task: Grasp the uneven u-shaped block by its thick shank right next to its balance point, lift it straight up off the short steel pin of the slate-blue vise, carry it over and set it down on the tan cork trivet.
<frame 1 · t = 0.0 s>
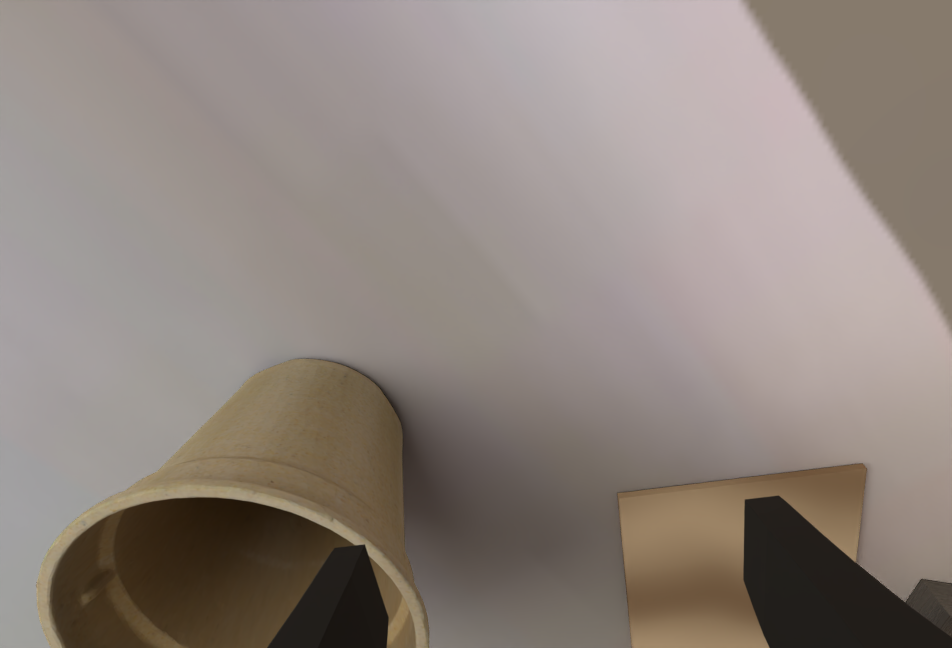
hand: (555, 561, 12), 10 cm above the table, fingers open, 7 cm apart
trivet: (736, 600, 27), on the table
flower pot: (320, 428, 23), on the table
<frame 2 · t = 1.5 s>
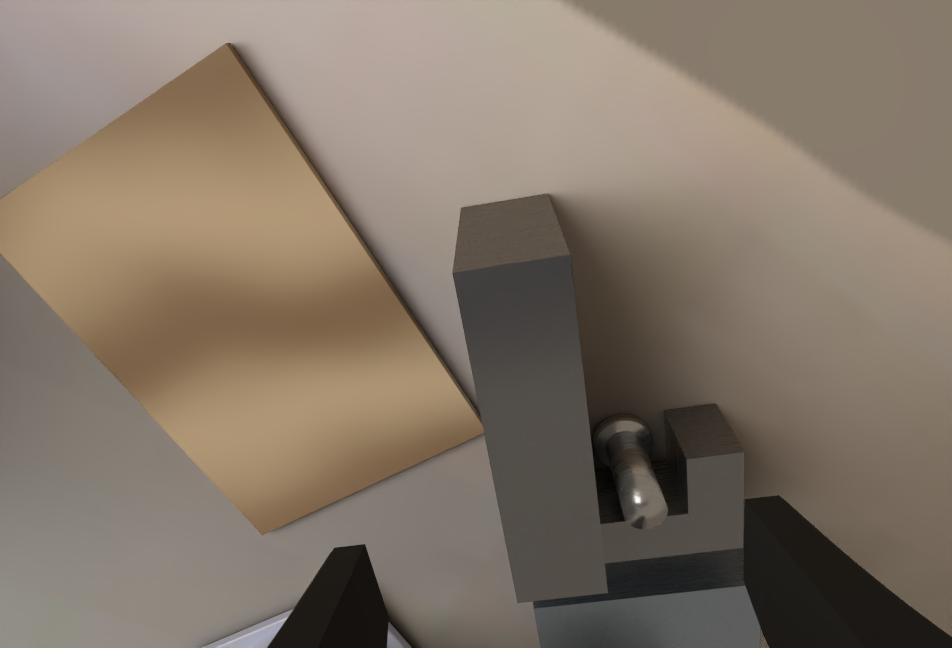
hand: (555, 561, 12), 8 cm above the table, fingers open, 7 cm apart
uneven u-shaped block: (528, 359, 19), on the table
trivet: (250, 329, 19), on the table
vise: (621, 437, 21), on the table
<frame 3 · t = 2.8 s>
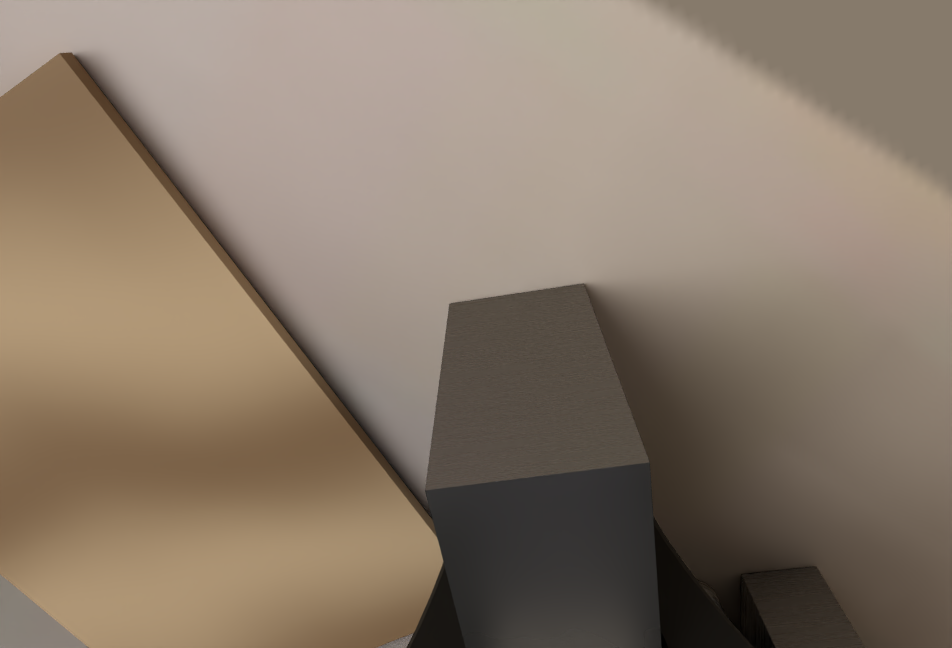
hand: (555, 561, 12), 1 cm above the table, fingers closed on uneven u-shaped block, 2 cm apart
uneven u-shaped block: (549, 509, 13), on the table, touching gripper
trivet: (143, 468, 13), on the table
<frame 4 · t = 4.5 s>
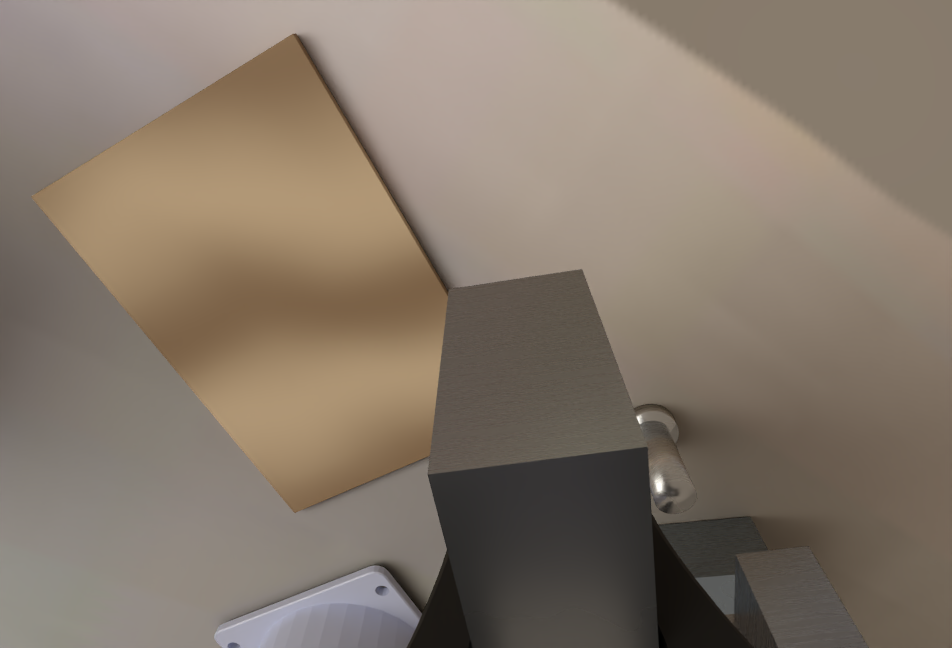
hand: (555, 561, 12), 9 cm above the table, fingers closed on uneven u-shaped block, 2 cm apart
uneven u-shaped block: (547, 491, 14), point 7 cm above the table, touching gripper
trivet: (296, 311, 20), on the table
vise: (647, 426, 21), on the table
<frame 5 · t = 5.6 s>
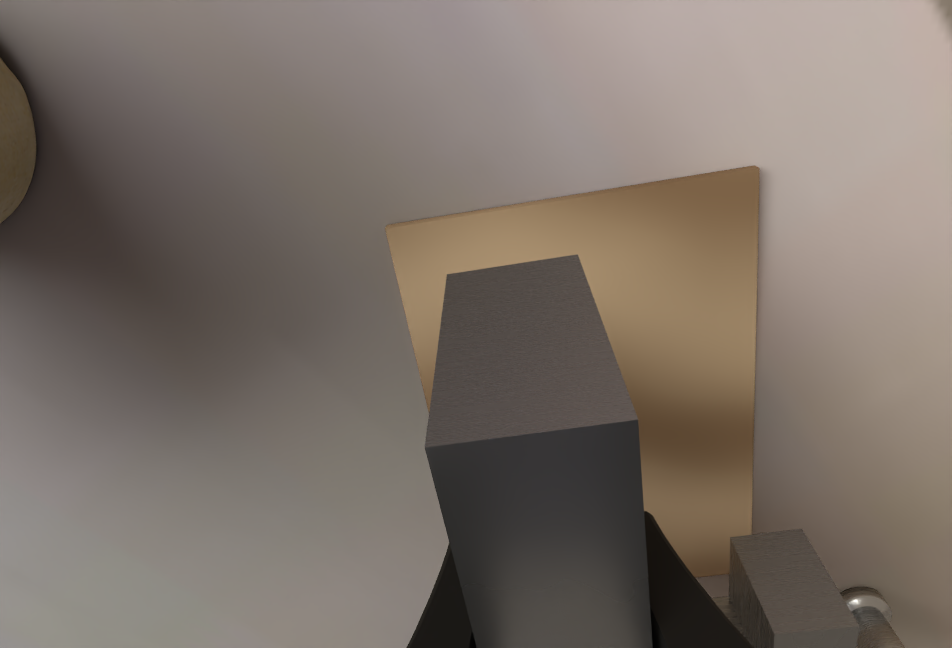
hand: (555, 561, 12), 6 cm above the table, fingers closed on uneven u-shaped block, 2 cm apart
uneven u-shaped block: (544, 475, 14), point 4 cm above the table, touching gripper
trivet: (590, 416, 18), on the table
vise: (855, 606, 21), on the table
when the fingers open (3 cm above the table, at t = 6.5 s): uneven u-shaped block stays where it is, resting on trivet.
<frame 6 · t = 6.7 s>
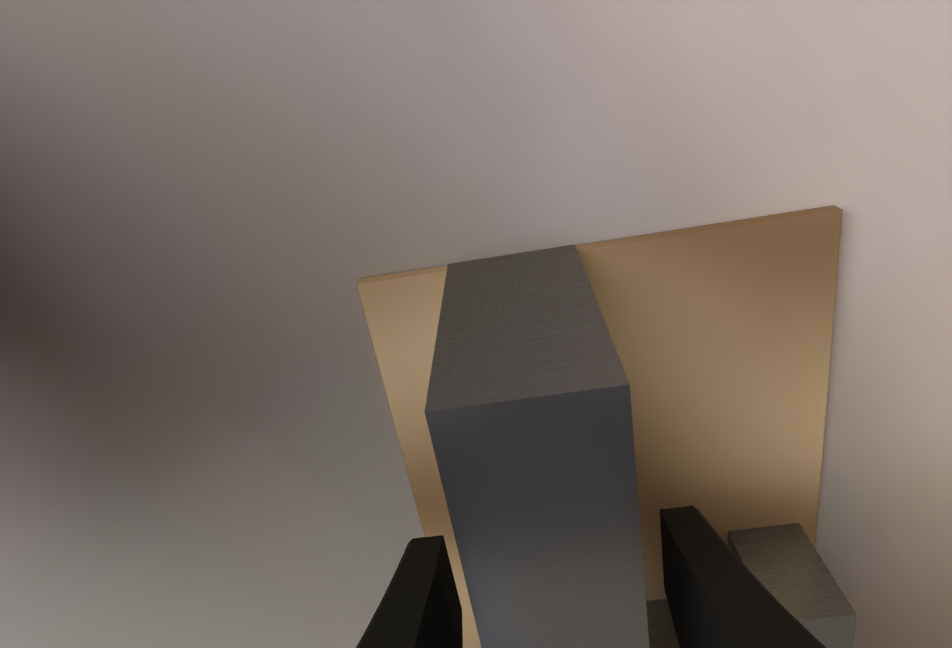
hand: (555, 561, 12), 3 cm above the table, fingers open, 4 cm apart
uneven u-shaped block: (543, 466, 14), resting on trivet
trivet: (614, 505, 15), on the table
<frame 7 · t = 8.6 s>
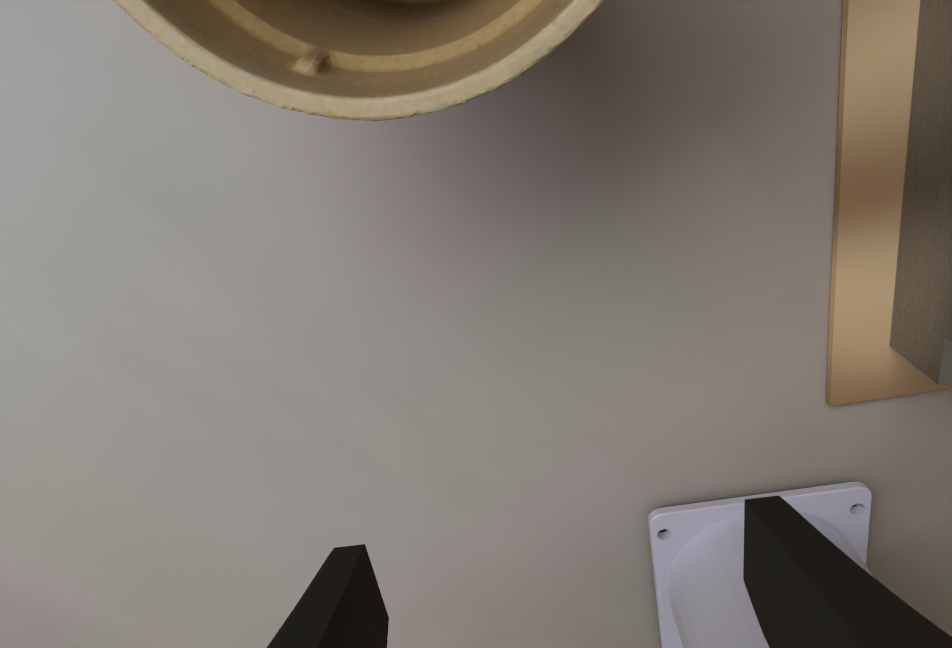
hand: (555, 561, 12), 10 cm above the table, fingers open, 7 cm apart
uneven u-shaped block: (950, 151, 18), resting on trivet
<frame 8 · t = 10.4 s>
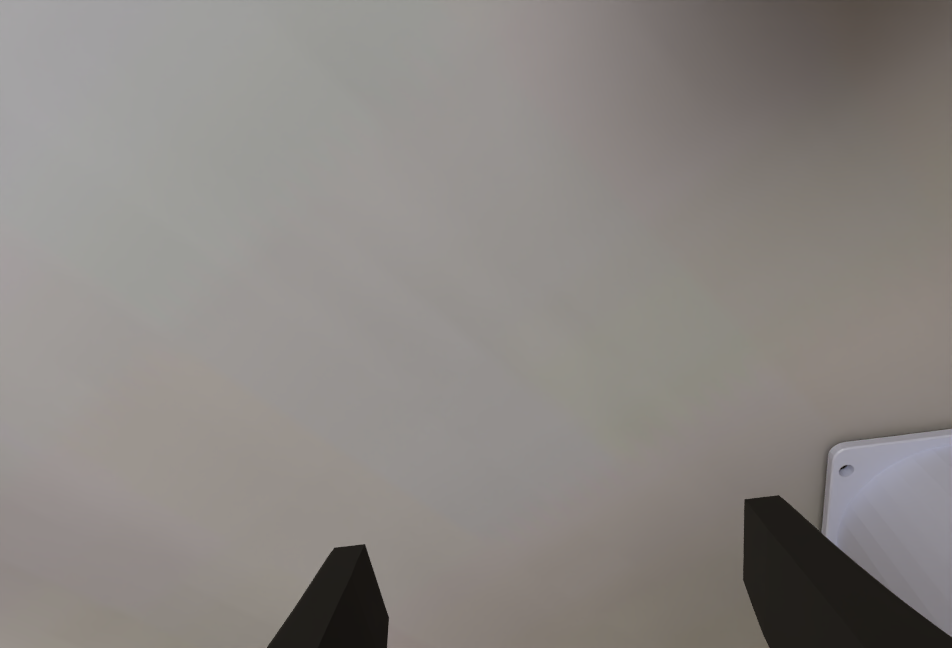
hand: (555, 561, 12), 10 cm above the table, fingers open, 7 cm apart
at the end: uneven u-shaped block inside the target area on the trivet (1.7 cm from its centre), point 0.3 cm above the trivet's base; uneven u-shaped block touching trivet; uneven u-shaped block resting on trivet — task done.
